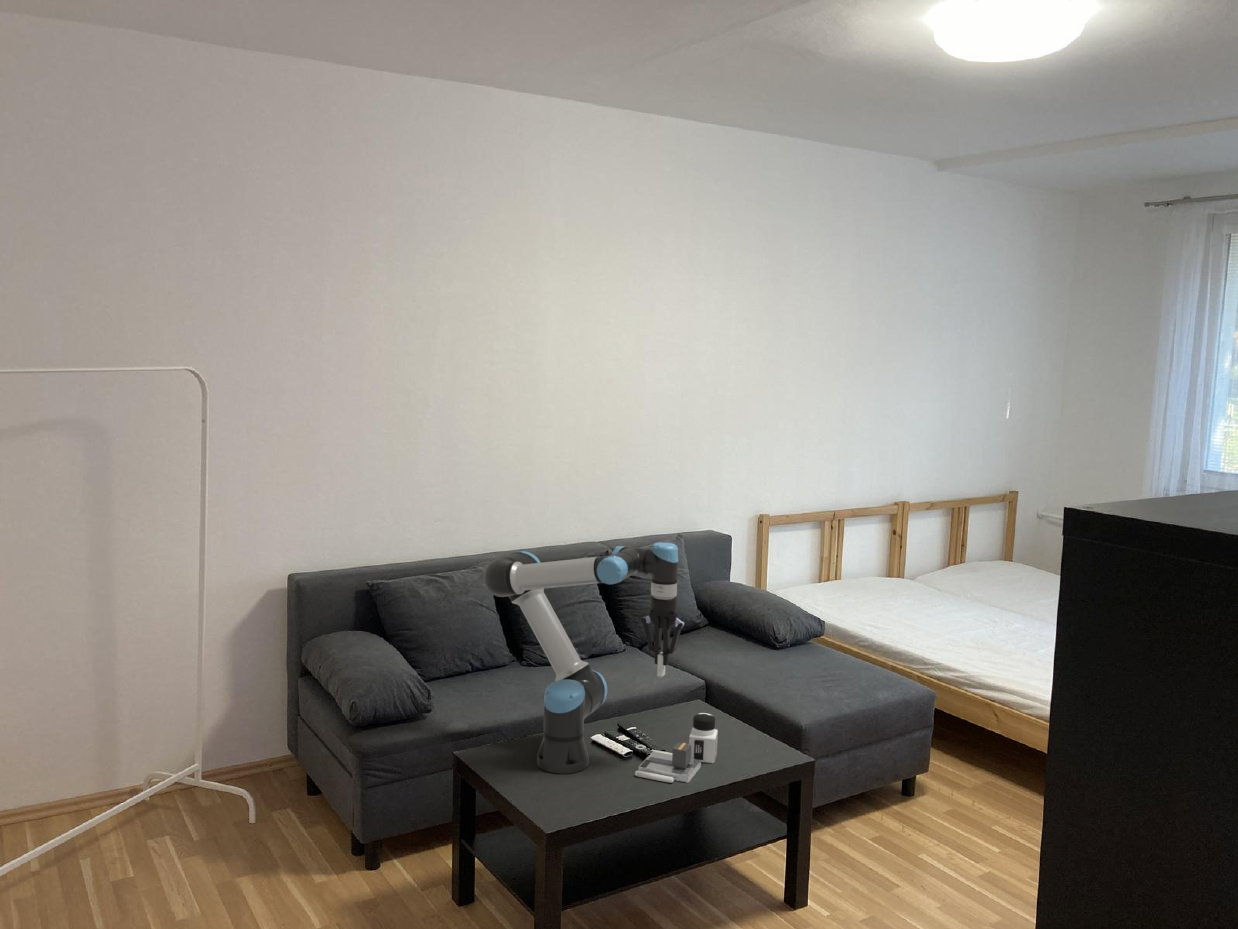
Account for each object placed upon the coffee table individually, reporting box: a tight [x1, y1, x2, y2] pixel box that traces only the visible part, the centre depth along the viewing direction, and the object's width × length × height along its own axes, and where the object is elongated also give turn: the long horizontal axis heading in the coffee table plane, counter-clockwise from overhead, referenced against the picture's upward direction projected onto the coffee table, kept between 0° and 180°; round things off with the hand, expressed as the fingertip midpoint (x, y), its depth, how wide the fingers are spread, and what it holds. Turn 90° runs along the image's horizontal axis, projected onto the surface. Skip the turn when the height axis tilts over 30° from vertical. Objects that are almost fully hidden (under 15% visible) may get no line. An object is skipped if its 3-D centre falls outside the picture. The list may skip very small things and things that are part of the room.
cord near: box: [634, 770, 675, 784], centre depth 282 cm, size 12×2×2 cm, turn 68°
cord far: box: [651, 749, 673, 755], centre depth 299 cm, size 12×2×2 cm, turn 68°
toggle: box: [672, 742, 691, 768], centre depth 287 cm, size 4×5×5 cm
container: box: [688, 712, 719, 764], centre depth 298 cm, size 8×8×13 cm
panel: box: [638, 752, 702, 783], centre depth 289 cm, size 15×12×2 cm
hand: (661, 675), depth 292 cm, fingers closed
